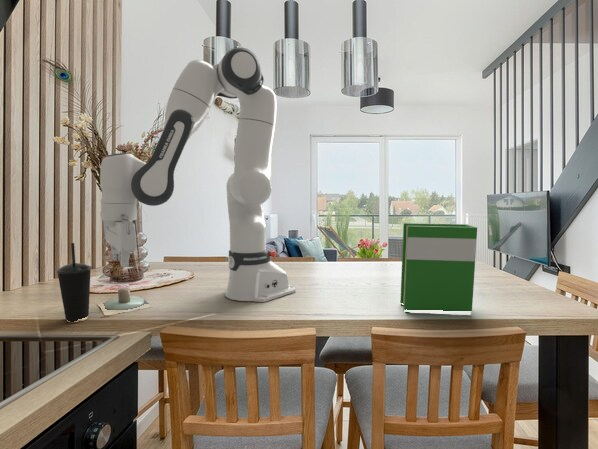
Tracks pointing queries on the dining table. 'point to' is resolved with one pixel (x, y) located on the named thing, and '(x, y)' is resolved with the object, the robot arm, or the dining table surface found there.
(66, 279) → the drinking cup
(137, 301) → the lid
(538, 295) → the dining table surface
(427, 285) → the hardback book
